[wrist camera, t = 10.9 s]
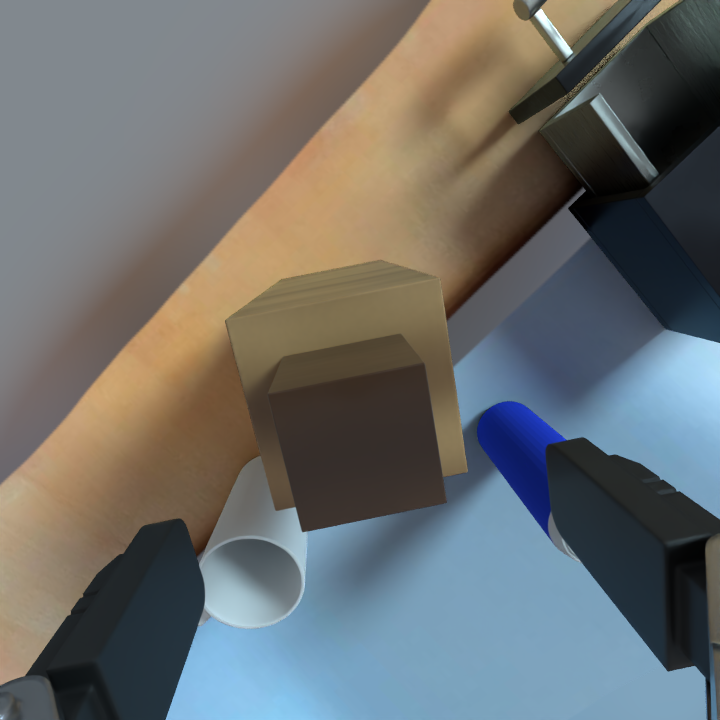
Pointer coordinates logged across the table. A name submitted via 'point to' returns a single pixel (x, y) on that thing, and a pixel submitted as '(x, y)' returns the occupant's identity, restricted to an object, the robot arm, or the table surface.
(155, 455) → the table surface
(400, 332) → the stand
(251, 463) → the mug
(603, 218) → the black drawer cabinet
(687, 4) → the drawer
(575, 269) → the table surface
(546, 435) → the beverage can
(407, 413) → the block
